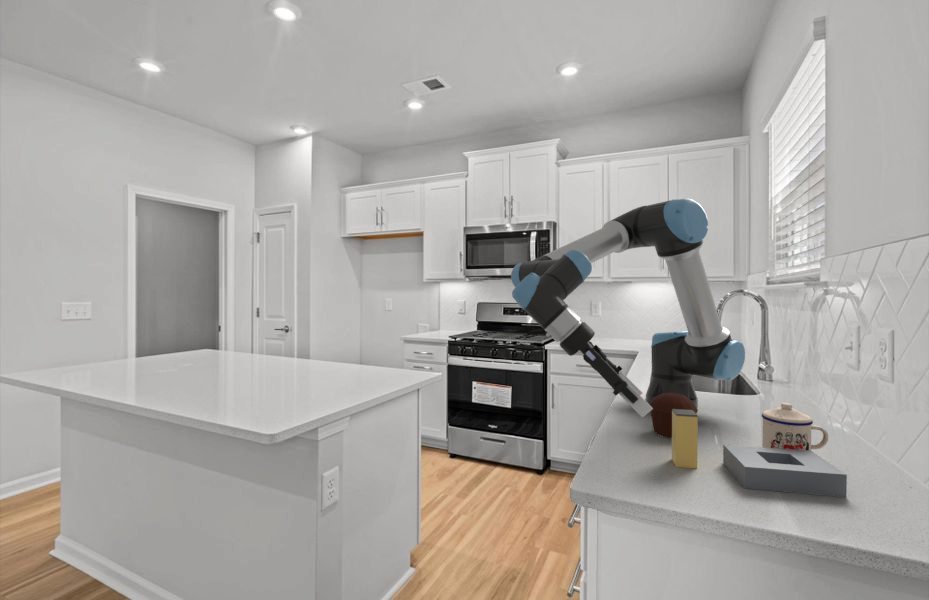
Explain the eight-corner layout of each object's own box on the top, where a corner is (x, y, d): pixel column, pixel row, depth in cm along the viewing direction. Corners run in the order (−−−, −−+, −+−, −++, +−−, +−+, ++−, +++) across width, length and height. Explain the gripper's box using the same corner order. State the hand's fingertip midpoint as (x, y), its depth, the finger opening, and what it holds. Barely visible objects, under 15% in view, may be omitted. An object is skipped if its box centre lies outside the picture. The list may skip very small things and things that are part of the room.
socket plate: (723, 463, 94) (723, 444, 94) (810, 470, 90) (811, 450, 90) (744, 488, 82) (745, 466, 82) (846, 497, 79) (846, 474, 79)
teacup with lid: (767, 461, 95) (768, 407, 95) (756, 447, 104) (756, 397, 103) (836, 469, 91) (837, 412, 91) (819, 453, 99) (820, 401, 99)
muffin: (670, 442, 107) (670, 401, 107) (638, 429, 117) (638, 391, 117) (708, 437, 111) (708, 397, 110) (674, 424, 121) (674, 387, 121)
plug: (671, 459, 96) (672, 408, 96) (692, 461, 95) (692, 409, 95) (676, 466, 92) (676, 413, 92) (697, 468, 92) (697, 415, 91)
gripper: (559, 337, 111) (622, 401, 108) (555, 351, 87) (637, 434, 84) (581, 316, 110) (646, 380, 106) (584, 324, 85) (668, 407, 82)
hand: (642, 404), depth 95 cm, fingers open, 13 cm apart
